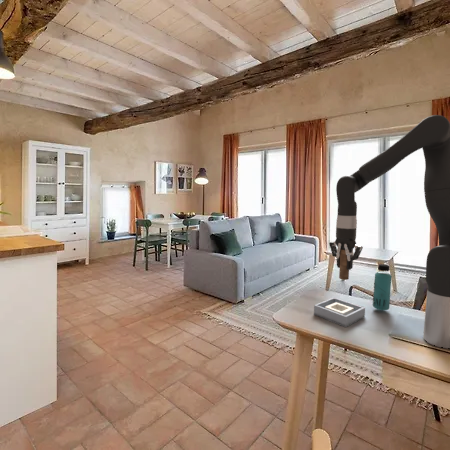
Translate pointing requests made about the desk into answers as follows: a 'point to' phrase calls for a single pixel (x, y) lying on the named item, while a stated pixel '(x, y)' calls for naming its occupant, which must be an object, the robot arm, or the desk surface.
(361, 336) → the desk surface
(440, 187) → the robot arm
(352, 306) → the box
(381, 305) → the beverage bottle
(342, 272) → the peg
